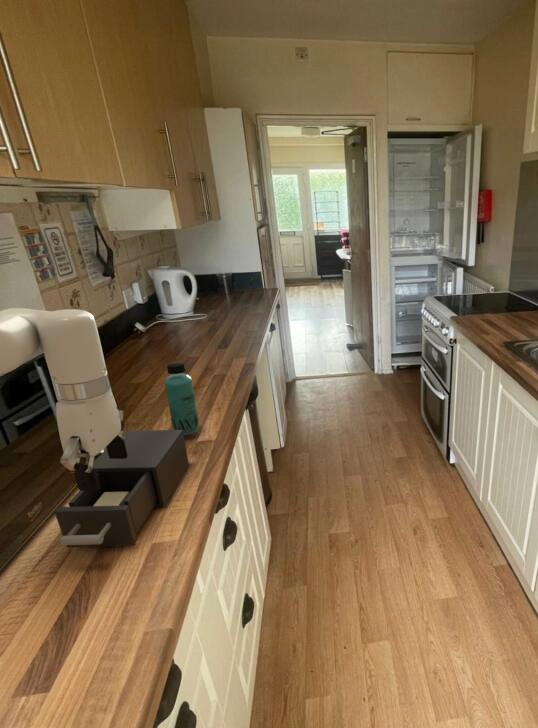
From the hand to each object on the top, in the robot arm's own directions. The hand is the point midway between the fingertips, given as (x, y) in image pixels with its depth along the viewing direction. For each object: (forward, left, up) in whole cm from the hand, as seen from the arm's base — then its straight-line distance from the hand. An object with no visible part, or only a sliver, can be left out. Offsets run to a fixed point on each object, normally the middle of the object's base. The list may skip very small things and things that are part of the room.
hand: (105, 472), depth 77 cm
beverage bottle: (+1, +34, -12) cm, 36 cm away
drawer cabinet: (0, +12, -11) cm, 16 cm away
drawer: (0, -2, -11) cm, 11 cm away
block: (0, -1, -9) cm, 10 cm away
